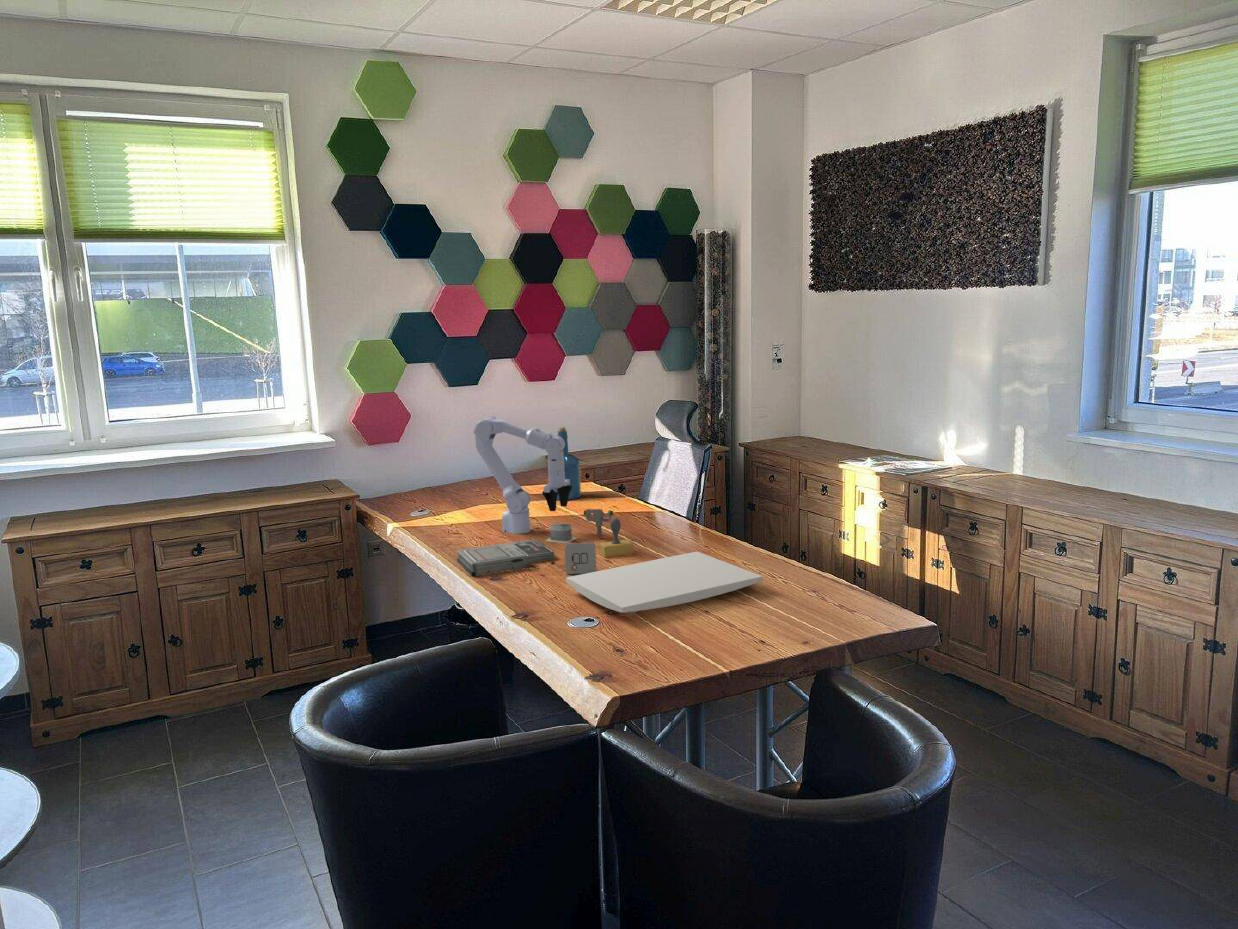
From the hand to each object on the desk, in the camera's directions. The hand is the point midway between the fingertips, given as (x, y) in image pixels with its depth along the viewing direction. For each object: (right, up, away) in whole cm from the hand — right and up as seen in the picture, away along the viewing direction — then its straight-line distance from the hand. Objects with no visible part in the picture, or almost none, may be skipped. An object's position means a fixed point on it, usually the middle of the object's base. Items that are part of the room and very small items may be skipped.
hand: (558, 508), depth 326 cm
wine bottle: (-1, +1, +66) cm, 66 cm away
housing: (+2, -10, -9) cm, 14 cm away
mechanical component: (+15, -10, -3) cm, 18 cm away
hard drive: (-15, -17, -30) cm, 37 cm away
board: (+34, -21, -65) cm, 77 cm away
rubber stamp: (+21, -14, -24) cm, 35 cm away
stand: (+2, -12, -9) cm, 15 cm away
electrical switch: (+10, -18, -43) cm, 47 cm away
